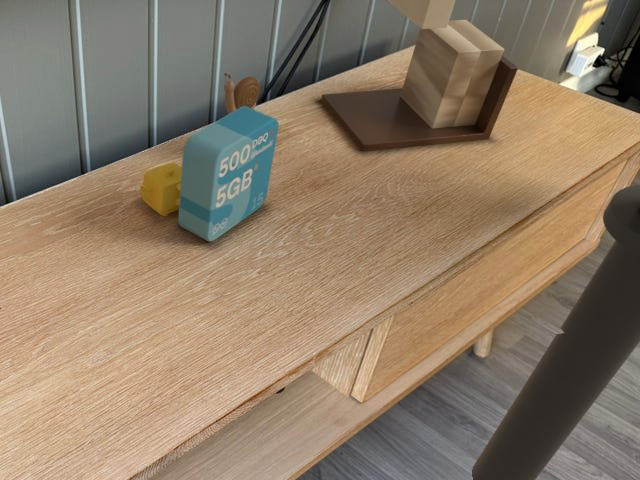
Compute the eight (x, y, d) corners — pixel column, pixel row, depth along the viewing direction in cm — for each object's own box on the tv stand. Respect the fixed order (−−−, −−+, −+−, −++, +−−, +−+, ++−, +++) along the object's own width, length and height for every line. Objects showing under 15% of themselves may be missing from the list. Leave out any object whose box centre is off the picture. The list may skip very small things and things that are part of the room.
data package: (206, 247, 82) (216, 154, 74) (176, 230, 84) (182, 138, 76) (265, 204, 89) (281, 115, 80) (236, 190, 91) (249, 101, 82)
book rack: (437, 91, 112) (464, 12, 104) (488, 139, 103) (523, 56, 94) (320, 100, 109) (338, 19, 100) (362, 151, 99) (385, 66, 90)
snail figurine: (203, 152, 97) (211, 65, 88) (236, 138, 100) (247, 52, 91) (231, 169, 94) (242, 81, 85) (264, 154, 97) (278, 68, 88)
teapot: (156, 231, 84) (157, 193, 80) (128, 207, 87) (129, 170, 83) (208, 209, 87) (212, 173, 84) (180, 187, 91) (182, 151, 87)
